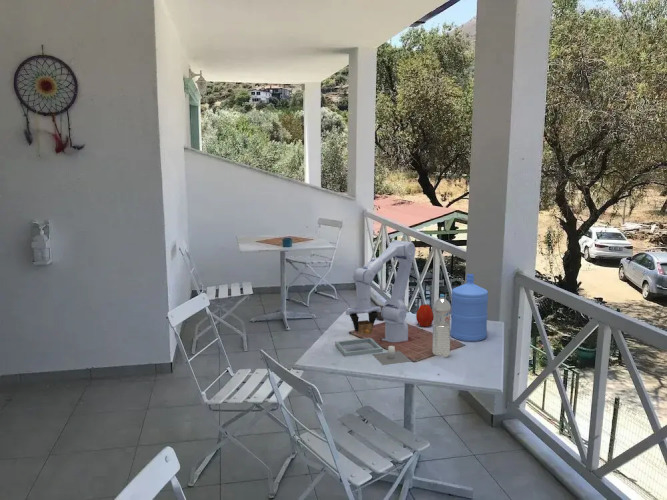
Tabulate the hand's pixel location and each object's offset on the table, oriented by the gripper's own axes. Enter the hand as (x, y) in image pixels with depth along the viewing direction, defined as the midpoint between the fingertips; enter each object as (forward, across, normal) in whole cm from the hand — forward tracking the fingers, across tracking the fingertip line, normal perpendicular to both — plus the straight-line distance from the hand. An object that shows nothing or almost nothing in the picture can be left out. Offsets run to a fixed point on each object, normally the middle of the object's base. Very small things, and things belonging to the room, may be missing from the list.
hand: (363, 330), depth 219 cm
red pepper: (+10, +40, +25) cm, 48 cm away
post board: (+9, +7, -12) cm, 17 cm away
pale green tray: (+9, -1, +2) cm, 10 cm away
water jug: (+10, +51, +4) cm, 52 cm away
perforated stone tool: (+10, +27, +38) cm, 48 cm away
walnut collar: (+1, 0, -1) cm, 1 cm away
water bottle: (+10, +28, -13) cm, 33 cm away
